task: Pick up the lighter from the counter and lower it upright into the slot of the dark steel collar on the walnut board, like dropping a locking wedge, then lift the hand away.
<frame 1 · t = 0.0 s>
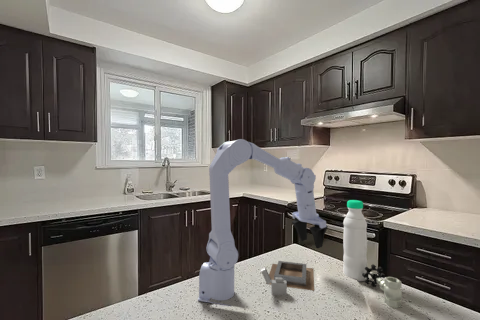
hand: (311, 243, 82), 11 cm above the countertop, tool pointing down, fingers open, 7 cm apart
valve: (384, 297, 70), on the countertop
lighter: (273, 297, 69), on the countertop
water bottle: (354, 277, 81), on the countertop
walnut board: (291, 278, 80), on the countertop
steel collar: (291, 275, 80), resting on walnut board
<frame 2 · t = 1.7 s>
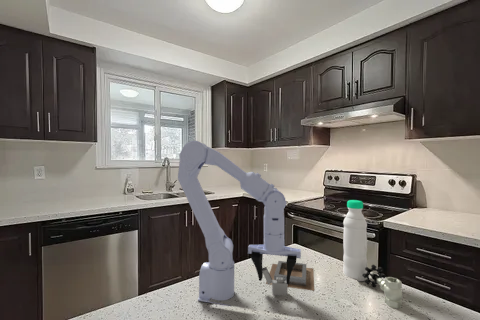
hand: (274, 280, 69), 4 cm above the countertop, tool pointing down, fingers closed on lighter, 7 cm apart
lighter: (274, 297, 69), on the countertop, touching gripper
everything else where it was.
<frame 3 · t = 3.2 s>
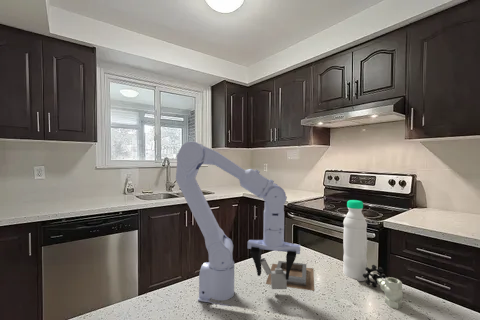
hand: (273, 276, 69), 6 cm above the countertop, tool pointing down, fingers closed on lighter, 7 cm apart
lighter: (273, 288, 69), point 2 cm above the countertop, touching gripper
everything else where it was.
when the fingers open (10 cm above the countertop, at t = 4.2 s): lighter drops 5 cm, resting on walnut board.
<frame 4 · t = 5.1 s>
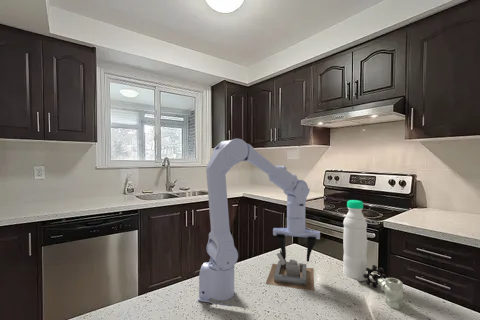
hand: (296, 259, 79), 6 cm above the countertop, tool pointing down, fingers open, 7 cm apart
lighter: (288, 277, 79), point 1 cm above the countertop, touching gripper, walnut board
everything else where it was.
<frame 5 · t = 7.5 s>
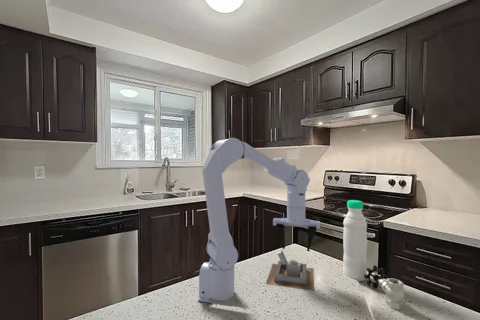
hand: (295, 248, 79), 10 cm above the countertop, tool pointing down, fingers open, 7 cm apart
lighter: (288, 277, 79), point 1 cm above the countertop, touching walnut board
everything else where it was.
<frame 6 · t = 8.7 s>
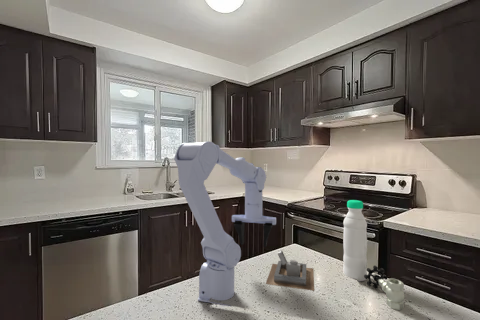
hand: (253, 244, 81), 10 cm above the countertop, tool pointing down, fingers open, 7 cm apart
nothing on the countertop moved.
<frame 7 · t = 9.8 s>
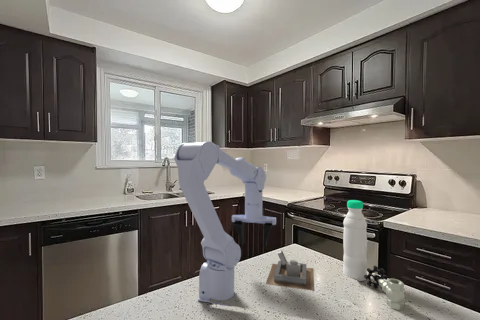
hand: (253, 244, 81), 10 cm above the countertop, tool pointing down, fingers open, 7 cm apart
nothing on the countertop moved.
at the end: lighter 1.2 cm off-centre on the steel collar, point 0.0 cm above the steel collar's base; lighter tilted 0°; the gripper is holding nothing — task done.
